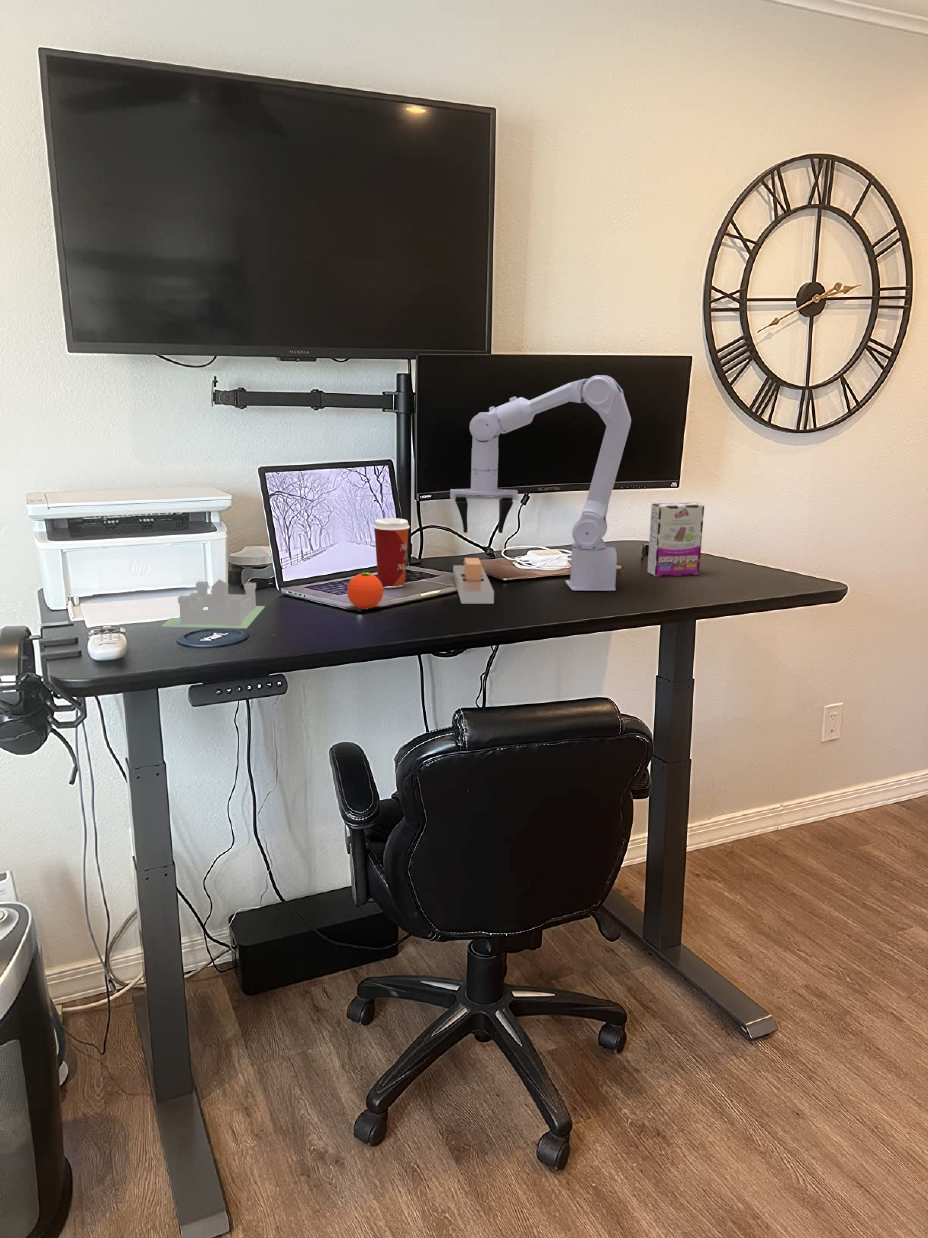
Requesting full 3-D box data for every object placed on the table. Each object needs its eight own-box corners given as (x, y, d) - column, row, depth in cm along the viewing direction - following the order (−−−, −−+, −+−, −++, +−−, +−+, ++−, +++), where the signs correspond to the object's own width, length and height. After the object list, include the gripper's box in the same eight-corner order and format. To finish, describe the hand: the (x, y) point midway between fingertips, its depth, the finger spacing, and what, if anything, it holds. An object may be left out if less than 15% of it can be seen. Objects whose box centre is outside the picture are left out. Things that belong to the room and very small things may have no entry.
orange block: (477, 585, 192) (478, 557, 191) (480, 592, 186) (481, 564, 185) (463, 585, 192) (464, 557, 190) (466, 592, 186) (467, 564, 184)
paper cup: (412, 589, 188) (413, 523, 184) (376, 590, 186) (375, 523, 182) (406, 580, 195) (406, 517, 191) (370, 582, 193) (370, 517, 189)
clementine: (351, 601, 177) (351, 566, 175) (386, 603, 176) (386, 568, 174) (344, 612, 169) (343, 575, 167) (380, 614, 169) (380, 577, 167)
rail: (481, 576, 201) (481, 565, 200) (493, 603, 178) (494, 591, 177) (453, 576, 200) (453, 565, 199) (461, 603, 177) (461, 591, 176)
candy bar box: (689, 571, 211) (695, 501, 206) (699, 575, 206) (706, 504, 202) (645, 572, 208) (650, 502, 204) (654, 577, 204) (660, 505, 199)
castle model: (246, 631, 158) (244, 590, 156) (161, 629, 158) (158, 588, 156) (264, 609, 172) (263, 571, 170) (187, 607, 172) (184, 569, 170)
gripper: (515, 467, 197) (513, 529, 200) (449, 467, 195) (448, 528, 199) (520, 471, 190) (517, 534, 194) (451, 470, 189) (450, 534, 192)
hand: (482, 532), depth 196 cm, fingers open, 7 cm apart
